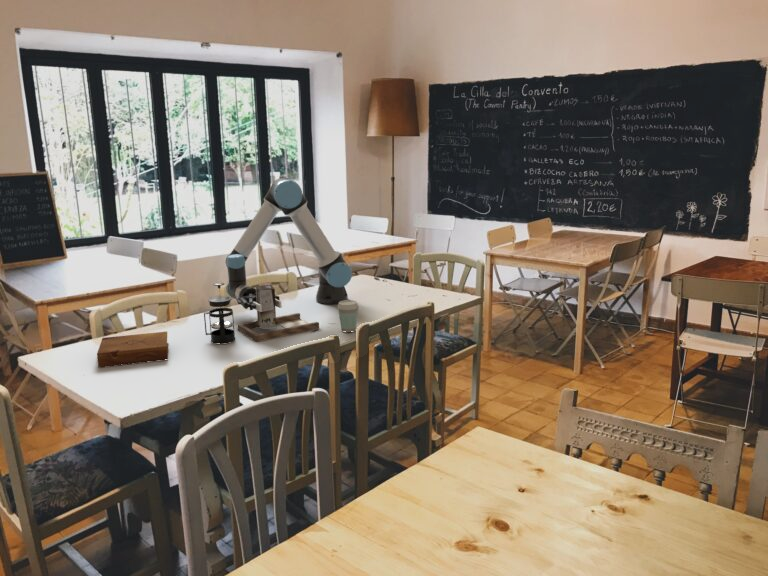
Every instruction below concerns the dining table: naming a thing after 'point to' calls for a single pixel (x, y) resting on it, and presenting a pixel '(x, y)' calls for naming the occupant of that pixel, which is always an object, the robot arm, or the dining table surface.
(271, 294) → the coffee box
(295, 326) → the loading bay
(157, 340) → the brown wooden flat block
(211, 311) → the french press
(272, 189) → the robot arm
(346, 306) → the coffee cup
